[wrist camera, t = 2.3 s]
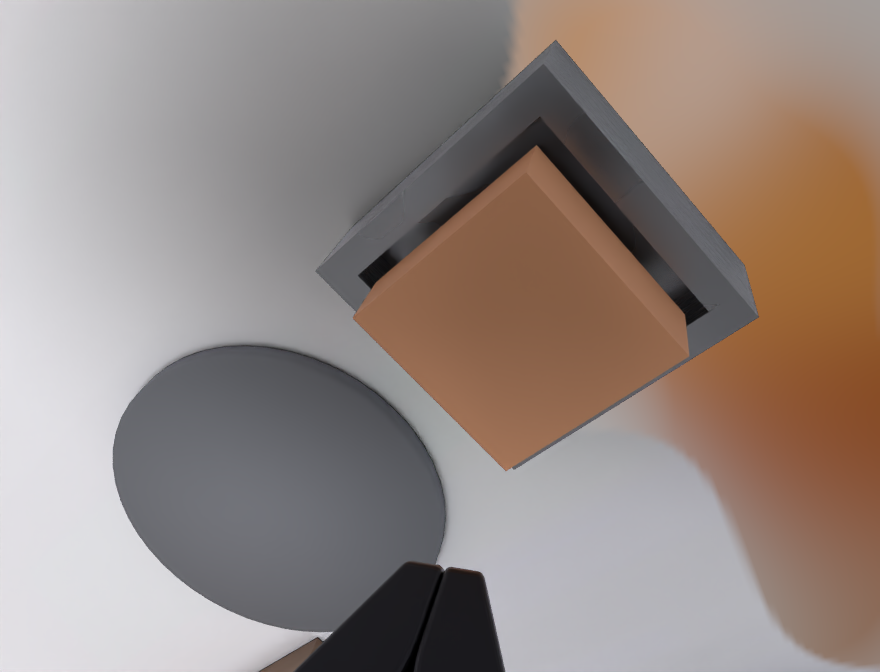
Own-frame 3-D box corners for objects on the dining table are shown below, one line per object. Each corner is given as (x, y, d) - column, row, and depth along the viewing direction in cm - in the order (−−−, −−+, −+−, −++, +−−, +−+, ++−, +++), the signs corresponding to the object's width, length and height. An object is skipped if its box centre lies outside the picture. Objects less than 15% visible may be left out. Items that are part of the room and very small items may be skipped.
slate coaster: (517, 529, 21) (514, 546, 20) (297, 656, 25) (290, 672, 25) (258, 276, 19) (248, 287, 19) (66, 460, 23) (53, 473, 23)
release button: (685, 314, 15) (689, 356, 13) (516, 424, 16) (505, 470, 15) (536, 144, 14) (525, 172, 12) (376, 281, 16) (352, 318, 14)
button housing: (744, 265, 17) (758, 317, 15) (526, 409, 19) (514, 469, 17) (555, 39, 15) (543, 63, 13) (351, 228, 18) (315, 270, 16)
